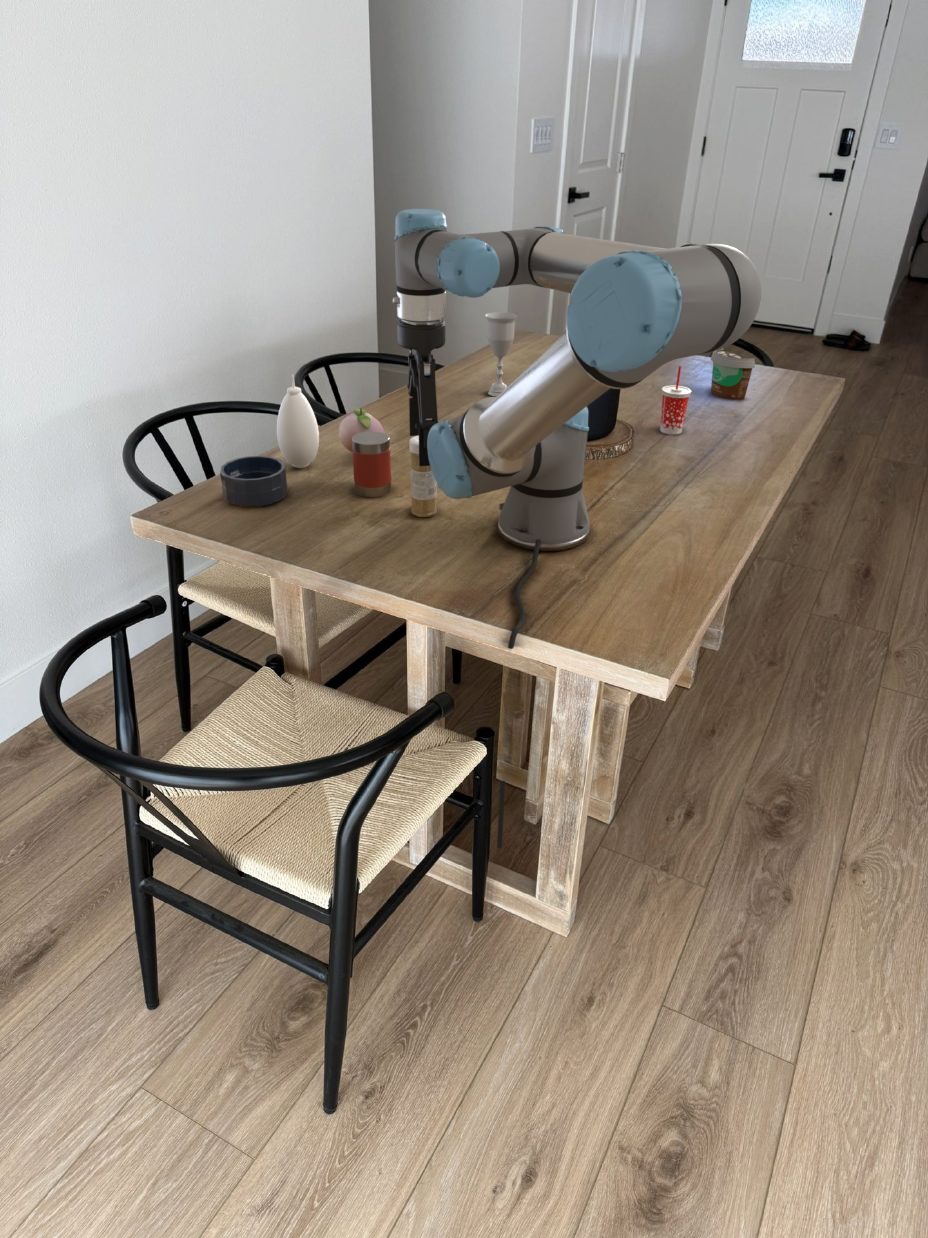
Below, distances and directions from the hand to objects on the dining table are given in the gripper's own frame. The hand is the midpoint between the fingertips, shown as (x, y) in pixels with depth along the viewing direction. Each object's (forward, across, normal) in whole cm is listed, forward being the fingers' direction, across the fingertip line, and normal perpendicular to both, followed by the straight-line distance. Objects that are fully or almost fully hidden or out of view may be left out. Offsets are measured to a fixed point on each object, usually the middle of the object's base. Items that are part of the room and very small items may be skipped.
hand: (422, 449), depth 148 cm
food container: (+12, -56, +79) cm, 97 cm away
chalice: (+12, -63, +26) cm, 69 cm away
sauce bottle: (+12, -24, -21) cm, 34 cm away
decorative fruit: (+12, -27, -9) cm, 31 cm away
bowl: (+12, -11, -29) cm, 33 cm away
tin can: (+12, -11, -8) cm, 18 cm away
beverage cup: (+12, -34, +58) cm, 68 cm away
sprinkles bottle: (+12, 0, 0) cm, 12 cm away
